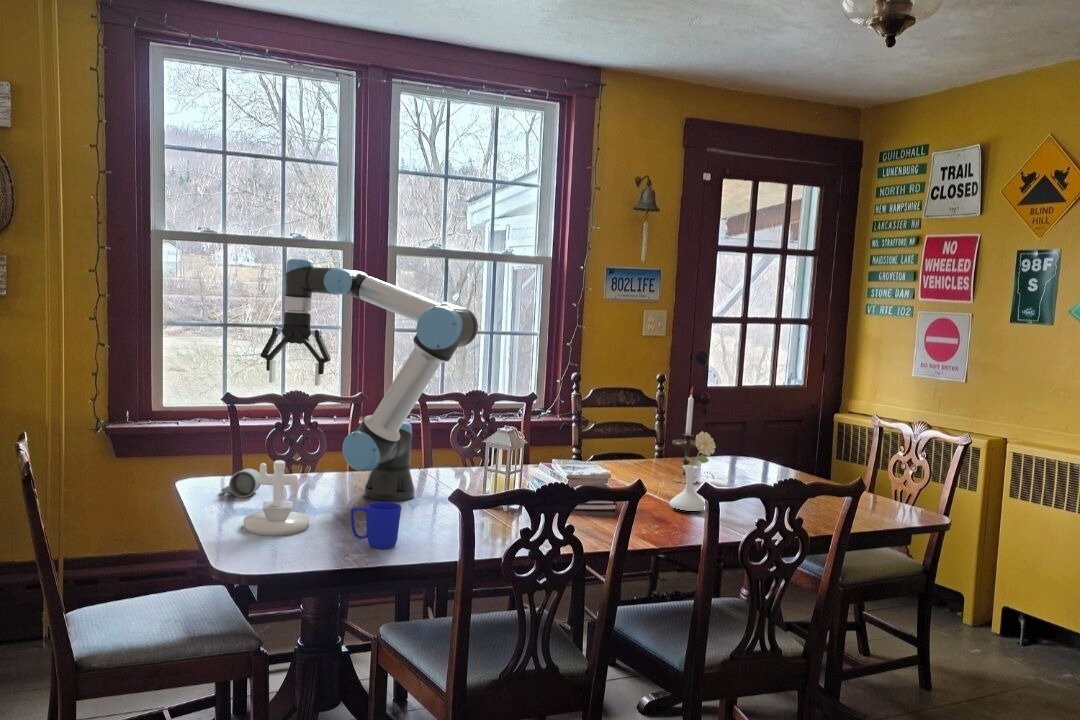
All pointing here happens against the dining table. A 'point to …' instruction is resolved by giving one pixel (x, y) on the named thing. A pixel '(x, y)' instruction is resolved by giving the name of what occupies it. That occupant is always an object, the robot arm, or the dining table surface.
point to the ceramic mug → (243, 483)
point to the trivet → (275, 524)
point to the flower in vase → (688, 496)
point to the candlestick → (687, 432)
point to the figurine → (278, 491)
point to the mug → (380, 523)
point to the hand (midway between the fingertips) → (294, 383)
